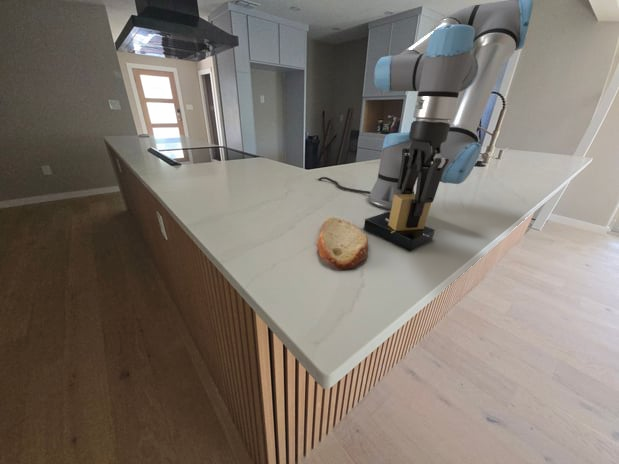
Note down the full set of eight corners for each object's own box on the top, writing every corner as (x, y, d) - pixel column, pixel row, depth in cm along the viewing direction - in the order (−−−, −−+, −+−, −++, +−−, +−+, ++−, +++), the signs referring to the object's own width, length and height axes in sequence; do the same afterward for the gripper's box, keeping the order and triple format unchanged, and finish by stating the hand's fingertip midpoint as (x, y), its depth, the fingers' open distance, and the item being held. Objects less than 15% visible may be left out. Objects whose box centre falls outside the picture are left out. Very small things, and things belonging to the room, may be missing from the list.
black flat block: (360, 230, 68) (362, 219, 66) (388, 220, 75) (390, 210, 73) (411, 255, 57) (414, 242, 56) (438, 241, 64) (441, 229, 63)
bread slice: (334, 221, 72) (335, 209, 70) (391, 246, 60) (394, 232, 59) (284, 240, 61) (284, 226, 59) (342, 275, 49) (344, 259, 47)
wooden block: (395, 231, 61) (402, 198, 57) (387, 224, 64) (394, 193, 60) (424, 229, 63) (432, 197, 59) (415, 223, 66) (423, 192, 62)
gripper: (394, 117, 59) (377, 211, 69) (442, 123, 45) (412, 240, 55) (422, 119, 61) (402, 210, 71) (478, 124, 46) (442, 237, 57)
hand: (406, 223), depth 63 cm, fingers closed on wooden block, 4 cm apart
